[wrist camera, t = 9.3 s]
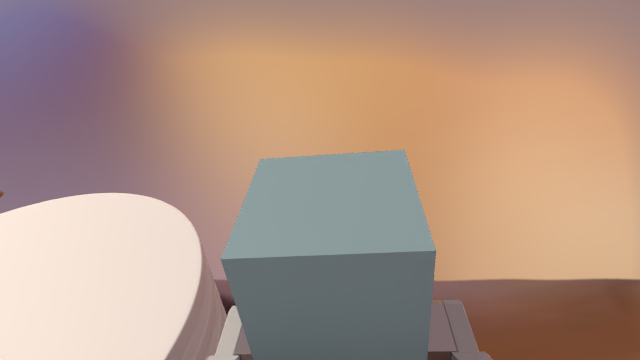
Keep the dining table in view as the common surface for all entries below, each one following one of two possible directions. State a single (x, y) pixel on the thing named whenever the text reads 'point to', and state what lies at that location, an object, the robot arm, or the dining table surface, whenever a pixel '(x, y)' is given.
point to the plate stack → (105, 282)
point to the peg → (333, 259)
